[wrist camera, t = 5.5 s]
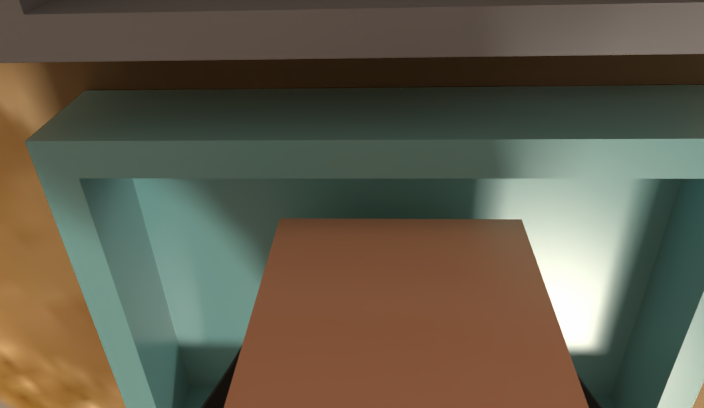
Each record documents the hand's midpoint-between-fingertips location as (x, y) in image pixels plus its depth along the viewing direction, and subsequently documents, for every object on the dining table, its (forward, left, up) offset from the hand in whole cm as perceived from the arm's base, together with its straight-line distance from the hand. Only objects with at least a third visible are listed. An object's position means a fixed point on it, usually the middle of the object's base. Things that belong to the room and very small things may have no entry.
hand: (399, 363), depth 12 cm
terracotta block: (0, 0, -1) cm, 1 cm away
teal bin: (0, 0, -3) cm, 3 cm away
